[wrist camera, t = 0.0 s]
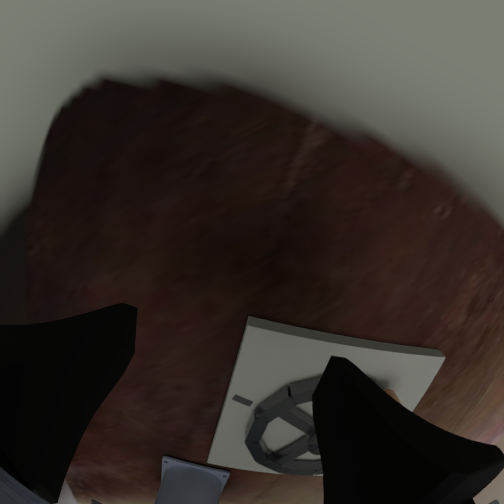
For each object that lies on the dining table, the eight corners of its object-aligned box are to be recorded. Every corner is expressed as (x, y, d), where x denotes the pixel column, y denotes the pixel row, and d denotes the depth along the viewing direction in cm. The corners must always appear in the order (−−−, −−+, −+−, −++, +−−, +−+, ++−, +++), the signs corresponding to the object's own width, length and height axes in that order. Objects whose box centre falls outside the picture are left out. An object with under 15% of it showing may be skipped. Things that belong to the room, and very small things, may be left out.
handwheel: (310, 477, 22) (313, 509, 18) (216, 431, 21) (209, 471, 16) (417, 409, 20) (436, 441, 15) (344, 340, 18) (364, 380, 13)
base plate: (357, 465, 24) (360, 475, 23) (209, 452, 24) (207, 463, 22) (438, 349, 20) (446, 357, 19) (248, 315, 20) (247, 326, 18)
